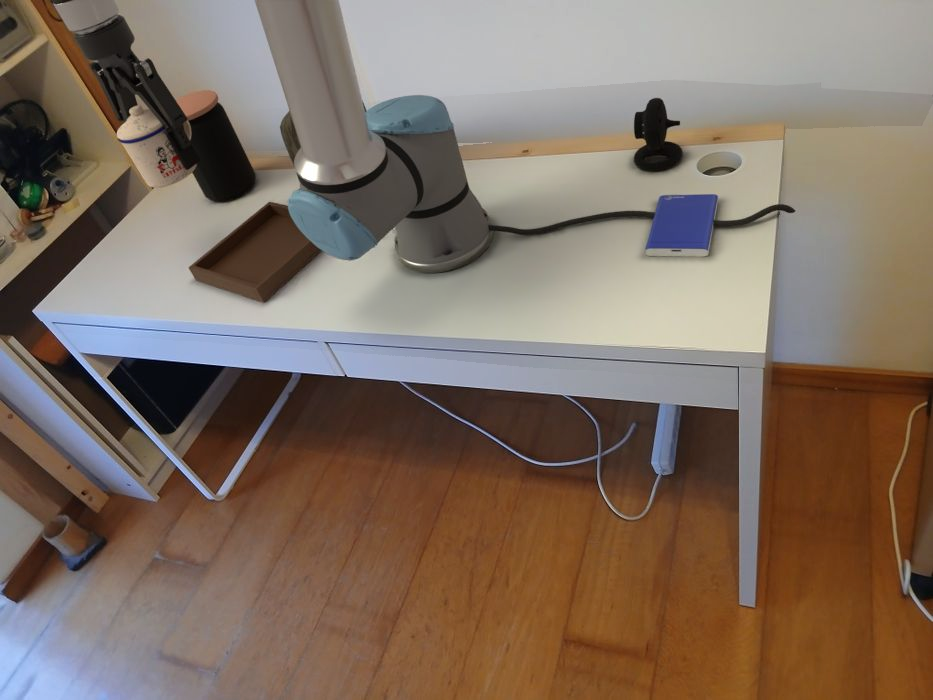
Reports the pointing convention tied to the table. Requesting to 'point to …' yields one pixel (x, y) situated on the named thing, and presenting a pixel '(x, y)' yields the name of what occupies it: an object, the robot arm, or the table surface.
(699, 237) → the hard drive
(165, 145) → the teacup with lid
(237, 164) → the coffee jar
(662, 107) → the webcam
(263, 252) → the tray
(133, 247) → the table surface
